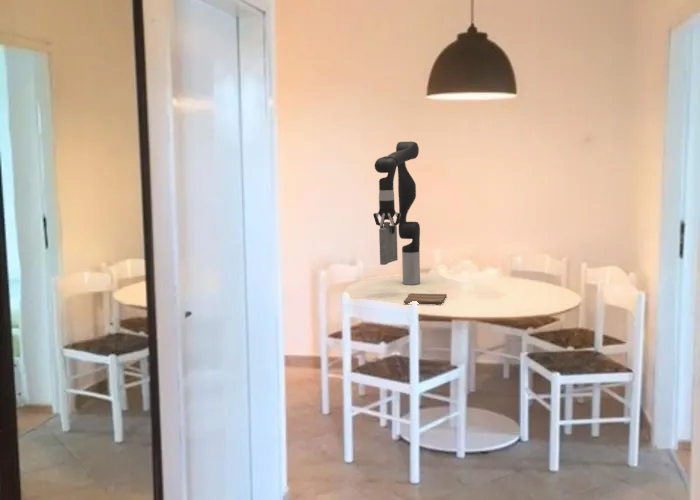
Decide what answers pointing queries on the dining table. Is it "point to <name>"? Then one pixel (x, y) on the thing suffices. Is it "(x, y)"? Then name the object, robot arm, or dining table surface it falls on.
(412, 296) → the walnut board
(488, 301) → the dining table surface
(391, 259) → the hip flask
